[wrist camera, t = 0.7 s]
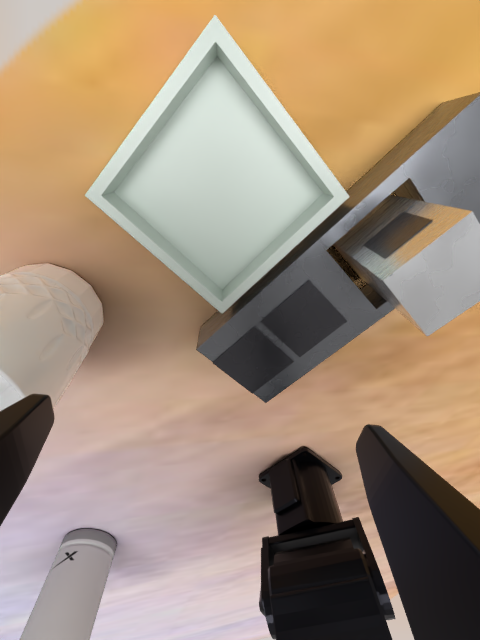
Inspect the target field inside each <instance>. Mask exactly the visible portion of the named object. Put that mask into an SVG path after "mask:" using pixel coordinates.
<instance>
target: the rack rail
mask: <svg viewBox="0 0 480 640" xmlns="http://www.w3.org/2000/svg"><path fill="white" fill-rule="evenodd" d="M393 191H394V192H395V194H396V195H397V196H398V197H403V198H409V199H414V200H419V201H424V202H429V203H434V204H439V205H444V206H449V207H454V208H459V209H464V210H469V211H473V213H474V215H475V217H476V218H477V220H478V222H479V224H480V92H479V93H476V94H472V95H468V96H465V97H461V98H458V99H454V100H451V101H447V102H443V103H442V104H441V105H439V106H438V107H437V108H436V109H435V110H434V111H433V112H432V113H431V114H430V115H429V116H428V117H426V118H425V119H424V120H423V121H422V122H421V123H420V124H419V125H418V126H417V127H416V128H415V129H414V130H412V131H411V132H410V133H409V134H408V135H407V136H406V137H405V138H404V139H403V140H402V141H401V142H400V143H398V144H397V145H396V146H395V147H394V148H393V149H392V150H391V151H390V152H389V153H388V154H387V155H386V156H384V157H383V158H382V159H381V160H380V161H379V162H378V163H377V164H376V165H375V166H374V167H373V168H372V169H370V170H369V171H368V172H367V173H366V174H365V175H364V176H363V177H362V178H361V179H360V180H359V181H358V182H356V183H355V184H354V185H353V186H352V187H351V188H350V189H349V190H348V191H347V194H348V195H349V198H348V199H347V200H346V201H344V202H343V203H342V204H341V205H340V206H339V207H338V208H337V209H336V210H335V211H334V212H332V213H331V214H330V215H329V216H328V217H327V218H326V219H325V220H324V221H323V222H322V223H320V224H319V225H318V226H317V227H316V228H315V229H314V230H313V231H312V232H311V233H310V234H309V235H307V236H306V237H305V238H304V239H303V240H302V241H301V242H300V243H299V244H298V245H297V246H295V247H294V248H293V249H292V250H291V251H290V252H289V253H288V254H287V255H286V256H285V257H283V258H282V259H281V260H280V261H279V262H278V263H277V264H276V265H275V266H274V267H273V268H271V269H270V270H269V271H268V272H267V273H266V274H265V275H264V276H263V277H262V278H261V279H259V280H258V281H257V282H256V283H255V284H254V285H253V286H252V287H251V288H250V289H249V290H247V291H246V292H245V293H244V294H243V295H242V296H241V297H240V298H239V299H238V300H237V301H235V302H234V303H233V304H232V305H231V306H230V307H229V308H228V309H227V310H226V311H225V312H223V313H220V312H219V311H217V312H216V313H215V314H214V315H213V316H212V317H211V318H210V319H209V320H208V321H207V322H206V323H204V324H203V325H202V326H201V327H200V331H199V337H198V343H197V349H196V350H198V351H199V352H200V353H202V354H203V355H204V356H205V357H207V358H208V359H209V360H211V361H212V362H213V364H215V365H216V366H217V367H219V368H220V369H221V370H222V371H224V372H225V373H226V374H228V375H229V376H230V377H232V378H233V379H234V380H236V381H237V382H238V383H239V384H241V385H242V386H243V387H245V388H246V389H247V390H249V391H250V392H251V393H254V394H255V395H256V396H257V397H259V398H260V399H261V400H263V401H264V402H265V403H267V402H268V401H269V400H271V399H272V398H273V397H275V396H276V395H277V394H279V393H280V392H282V391H283V390H284V389H286V388H287V387H288V386H290V385H291V384H292V383H294V382H295V381H297V380H298V379H299V378H301V377H302V376H303V375H305V374H306V373H307V372H309V371H310V370H312V369H313V368H314V367H316V366H317V365H318V364H320V363H321V362H322V361H324V360H325V359H327V358H328V357H329V356H331V355H332V354H333V353H335V352H336V351H337V350H339V349H340V348H342V347H343V346H344V345H346V344H347V343H348V342H350V341H351V340H352V339H354V338H355V337H357V336H358V335H359V334H361V333H362V332H363V331H365V330H366V329H367V328H369V327H370V326H372V325H373V324H374V323H376V322H377V321H378V320H380V319H381V318H382V317H384V316H385V315H387V314H388V313H389V312H391V311H392V310H393V309H395V308H394V307H393V306H392V305H391V304H389V303H388V302H387V301H386V300H385V299H384V298H383V297H381V296H380V295H379V294H378V293H377V292H376V291H375V290H373V289H372V288H371V287H370V286H369V285H368V284H367V285H366V286H364V287H363V288H362V289H360V290H359V288H358V287H357V286H356V285H355V284H354V283H353V281H352V280H351V279H350V278H349V277H348V276H347V274H346V273H345V272H344V271H343V270H342V268H341V267H340V266H339V265H338V264H337V263H336V261H335V260H334V259H333V258H332V257H331V256H330V254H329V253H328V252H327V251H326V250H327V249H328V248H329V247H331V246H332V245H333V244H334V243H335V242H336V241H337V240H339V239H340V238H341V237H342V236H343V235H344V234H345V233H347V232H348V231H349V230H350V229H351V228H352V227H353V226H355V225H356V224H357V223H358V222H359V221H360V220H361V219H363V218H364V217H365V216H366V215H367V214H368V213H369V212H371V211H372V210H373V209H374V208H375V207H376V206H377V205H379V204H380V203H381V202H382V201H383V200H384V199H385V198H387V197H388V196H389V195H390V194H391V193H392V192H393Z"/></svg>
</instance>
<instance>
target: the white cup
mask: <svg viewBox="0 0 480 640" xmlns="http://www.w3.org/2000/svg"><path fill="white" fill-rule="evenodd" d="M103 323H104V320H103V308H102V303H101V301H100V300H99V298H98V296H97V295H96V293H95V291H94V290H93V288H92V286H91V285H90V284H88V283H87V282H86V281H85V280H83V279H82V278H81V277H79V276H78V275H77V274H76V273H74V272H73V271H71V270H68V269H65V268H62V267H59V266H56V265H53V264H49V263H43V264H32V265H24V266H22V267H20V268H17V269H15V270H13V271H10V272H8V273H6V274H3V275H0V411H1V410H3V409H5V408H7V407H8V406H10V405H12V404H14V403H16V402H18V401H19V400H21V399H23V398H25V397H27V396H28V395H31V394H46V395H49V396H50V397H51V401H52V406H53V409H54V407H55V406H56V404H57V403H58V401H59V400H60V398H61V397H62V395H63V393H64V392H65V390H66V389H67V387H68V386H69V384H70V383H71V381H72V379H73V377H74V375H75V374H76V372H77V370H78V369H79V367H80V366H81V364H82V362H83V360H84V359H85V357H86V355H87V354H88V352H89V348H90V346H91V344H92V343H93V341H94V340H95V338H96V337H97V335H98V333H99V331H100V329H101V327H102V325H103Z"/></svg>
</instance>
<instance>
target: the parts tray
mask: <svg viewBox="0 0 480 640" xmlns="http://www.w3.org/2000/svg"><path fill="white" fill-rule="evenodd" d="M85 196H86V197H87V198H88V199H90V200H91V201H92V202H93V203H94V204H95V205H96V206H98V207H99V208H100V209H101V210H102V211H103V212H105V213H106V214H107V215H108V216H109V217H110V218H112V219H113V220H114V221H115V222H116V223H117V224H118V225H120V226H121V227H122V228H123V229H124V230H125V231H127V232H128V233H129V234H130V235H131V236H132V237H134V238H135V239H136V240H137V241H138V242H139V243H140V244H142V245H143V246H144V247H145V248H146V249H147V250H149V251H150V252H151V253H152V254H153V255H154V256H156V257H157V258H158V259H159V260H160V261H161V262H163V263H164V264H165V265H166V266H167V267H168V268H169V269H171V270H172V271H173V272H174V273H175V274H176V275H178V276H179V277H180V278H181V279H182V280H183V281H185V282H186V283H187V284H188V285H189V286H190V287H191V288H193V289H194V290H195V291H196V292H197V293H198V294H200V295H201V296H202V297H203V298H204V299H205V300H207V301H208V302H209V303H210V304H211V305H212V306H213V307H215V308H216V309H217V310H218V311H219V312H220V313H223V312H225V311H226V310H227V309H228V308H229V307H230V306H231V305H232V304H233V303H234V302H235V301H237V300H238V299H239V298H240V297H241V296H242V295H243V294H244V293H245V292H246V291H247V290H249V289H250V288H251V287H252V286H253V285H254V284H255V283H256V282H257V281H258V280H259V279H261V278H262V277H263V276H264V275H265V274H266V273H267V272H268V271H269V270H270V269H271V268H273V267H274V266H275V265H276V264H277V263H278V262H279V261H280V260H281V259H282V258H283V257H285V256H286V255H287V254H288V253H289V252H290V251H291V250H292V249H293V248H294V247H295V246H297V245H298V244H299V243H300V242H301V241H302V240H303V239H304V238H305V237H306V236H307V235H309V234H310V233H311V232H312V231H313V230H314V229H315V228H316V227H317V226H318V225H319V224H320V223H322V222H323V221H324V220H325V219H326V218H327V217H328V216H329V215H330V214H331V213H332V212H334V211H335V210H336V209H337V208H338V207H339V206H340V205H341V204H342V203H343V202H344V201H346V200H347V199H348V198H349V195H348V194H347V192H346V191H345V190H344V188H343V187H342V186H341V184H340V183H339V182H338V180H337V179H336V178H335V176H334V175H333V174H332V172H331V171H330V169H329V168H328V167H327V165H326V164H325V163H324V161H323V160H322V159H321V157H320V156H319V155H318V153H317V152H316V151H315V149H314V148H313V146H312V145H311V144H310V142H309V141H308V140H307V138H306V137H305V136H304V134H303V133H302V132H301V130H300V129H299V128H298V126H297V125H296V123H295V122H294V121H293V119H292V118H291V117H290V115H289V114H288V113H287V111H286V110H285V109H284V107H283V106H282V105H281V103H280V102H279V100H278V99H277V98H276V96H275V95H274V94H273V92H272V91H271V90H270V88H269V87H268V86H267V84H266V83H265V82H264V80H263V79H262V77H261V76H260V75H259V73H258V72H257V71H256V69H255V68H254V67H253V65H252V64H251V63H250V61H249V60H248V59H247V57H246V56H245V54H244V53H243V52H242V50H241V49H240V48H239V46H238V45H237V44H236V42H235V41H234V40H233V38H232V37H231V36H230V34H229V33H228V32H227V30H226V29H225V27H224V26H223V25H222V23H221V22H220V21H219V19H218V18H217V17H216V15H214V17H213V18H212V20H211V21H210V22H209V24H208V25H207V26H206V28H205V29H204V31H203V32H202V33H201V35H200V36H199V38H198V39H197V40H196V42H195V43H194V45H193V46H192V47H191V49H190V50H189V51H188V53H187V54H186V56H185V57H184V58H183V60H182V61H181V63H180V64H179V65H178V67H177V68H176V69H175V71H174V72H173V74H172V75H171V76H170V78H169V79H168V81H167V82H166V83H165V85H164V86H163V87H162V89H161V90H160V92H159V93H158V94H157V96H156V97H155V99H154V100H153V101H152V103H151V104H150V106H149V107H148V108H147V110H146V111H145V112H144V114H143V115H142V117H141V118H140V119H139V121H138V122H137V124H136V125H135V126H134V128H133V129H132V130H131V132H130V133H129V135H128V136H127V137H126V139H125V140H124V142H123V143H122V144H121V146H120V147H119V148H118V150H117V151H116V153H115V154H114V155H113V157H112V158H111V160H110V161H109V162H108V164H107V165H106V167H105V168H104V169H103V171H102V172H101V173H100V175H99V176H98V178H97V179H96V180H95V182H94V183H93V185H92V186H91V187H90V189H89V190H88V191H87V193H86V194H85Z"/></svg>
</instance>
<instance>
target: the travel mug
mask: <svg viewBox="0 0 480 640" xmlns="http://www.w3.org/2000/svg"><path fill="white" fill-rule="evenodd" d="M116 546H117V545H116V541H115V539H114V538H113V537H112V536H111V535H109V534H108V533H106V532H103V531H100V530H96V529H79V530H75V531H72V532H70V533H68V534H67V535H66V536H65V537H64V539H63V541H62V544H61V546H60V548H59V551H58V554H57V555H56V557H55V560H54V562H53V564H52V567H51V569H50V571H49V573H48V576H47V578H46V580H45V583H44V585H43V587H42V590H41V592H40V594H39V596H38V599H37V601H36V603H35V606H34V608H33V610H32V612H31V615H30V617H29V619H28V622H27V624H26V626H25V628H24V631H23V633H22V635H21V638H20V640H89V639H90V636H91V632H92V629H93V625H94V622H95V619H96V615H97V612H98V608H99V605H100V601H101V598H102V594H103V591H104V588H105V584H106V581H107V577H108V574H109V570H110V567H111V564H112V560H113V557H114V553H115V550H116Z"/></svg>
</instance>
